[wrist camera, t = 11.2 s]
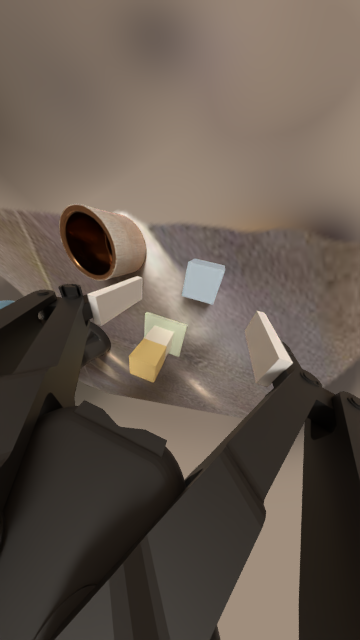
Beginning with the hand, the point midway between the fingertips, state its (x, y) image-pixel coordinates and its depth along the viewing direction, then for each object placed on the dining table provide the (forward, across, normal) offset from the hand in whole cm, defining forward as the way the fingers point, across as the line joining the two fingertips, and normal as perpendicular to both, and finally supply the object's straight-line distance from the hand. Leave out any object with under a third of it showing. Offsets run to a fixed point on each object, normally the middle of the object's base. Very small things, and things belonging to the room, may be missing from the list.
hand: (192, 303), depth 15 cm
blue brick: (+15, 0, 0) cm, 15 cm away
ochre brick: (+8, -7, -19) cm, 22 cm away
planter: (+15, -20, +2) cm, 24 cm away
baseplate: (+14, -7, -19) cm, 25 cm away
